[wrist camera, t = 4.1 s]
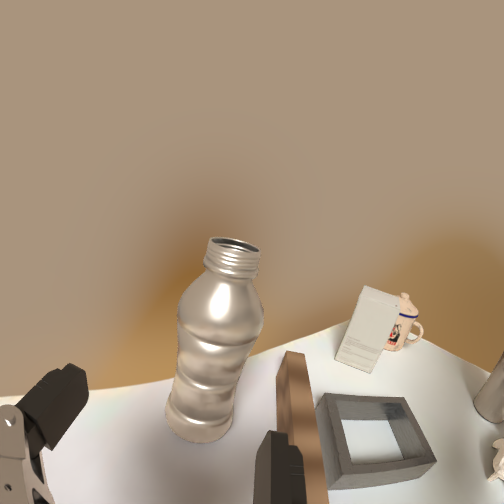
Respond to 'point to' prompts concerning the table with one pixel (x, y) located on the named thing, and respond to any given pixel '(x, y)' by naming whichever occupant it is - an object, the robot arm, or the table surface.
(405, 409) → the keeper
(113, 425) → the table surface
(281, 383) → the wooden plank
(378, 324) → the supplement box
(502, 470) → the white piece
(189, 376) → the silver bottle
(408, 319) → the teacup with lid
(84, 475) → the table surface
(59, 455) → the table surface
